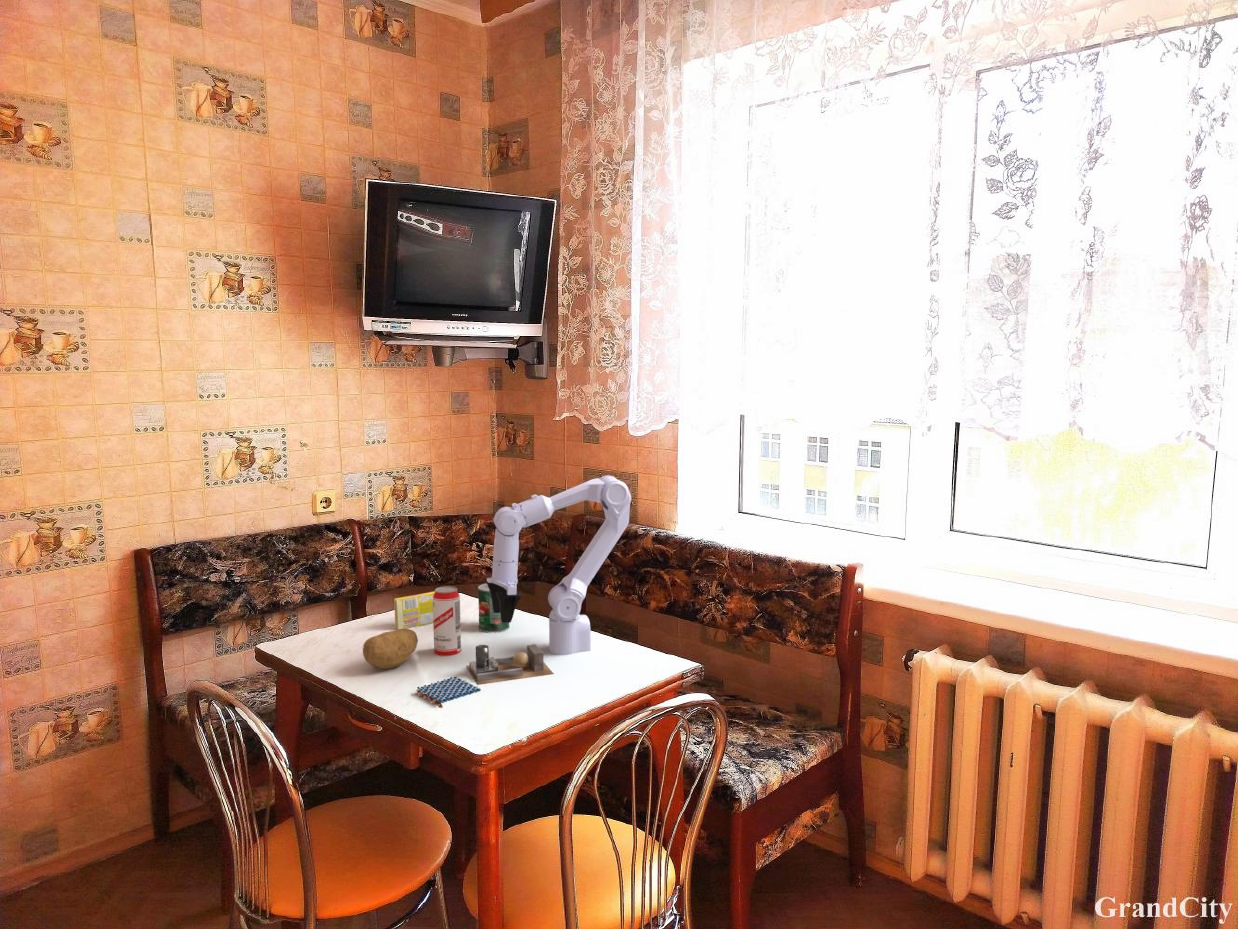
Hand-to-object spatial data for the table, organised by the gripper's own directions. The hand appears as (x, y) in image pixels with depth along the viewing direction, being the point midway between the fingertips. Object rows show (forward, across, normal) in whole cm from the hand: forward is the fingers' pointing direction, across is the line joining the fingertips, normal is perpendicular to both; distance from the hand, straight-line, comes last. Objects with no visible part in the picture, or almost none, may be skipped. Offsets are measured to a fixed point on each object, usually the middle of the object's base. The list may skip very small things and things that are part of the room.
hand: (502, 617), depth 198 cm
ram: (+9, +10, -6) cm, 15 cm away
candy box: (+12, -33, -12) cm, 37 cm away
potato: (+12, -5, -24) cm, 27 cm away
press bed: (+10, +10, 0) cm, 14 cm away
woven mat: (+12, +16, -15) cm, 25 cm away
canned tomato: (+10, -23, +4) cm, 25 cm away
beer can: (+11, -7, -11) cm, 17 cm away
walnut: (+9, +10, +2) cm, 14 cm away
